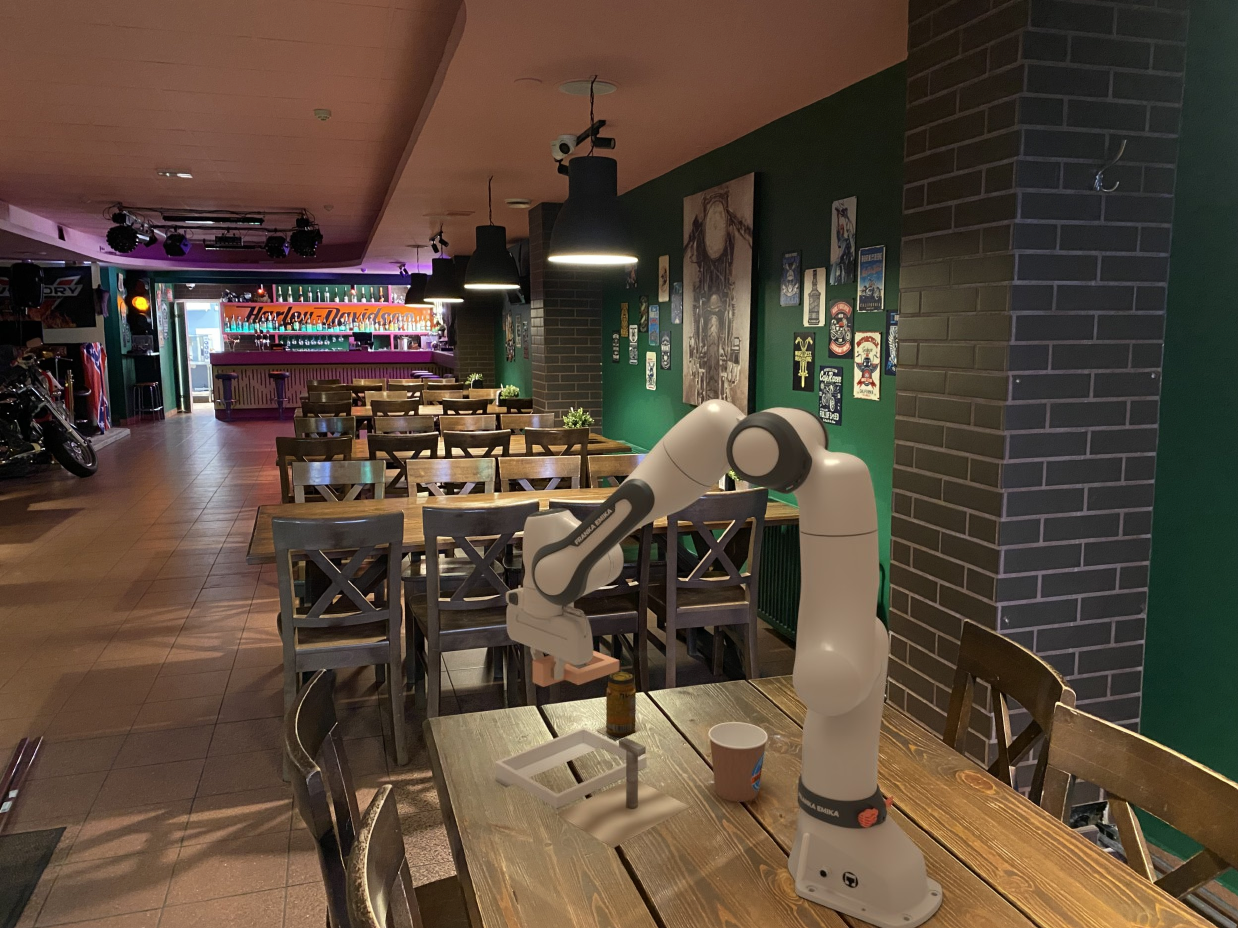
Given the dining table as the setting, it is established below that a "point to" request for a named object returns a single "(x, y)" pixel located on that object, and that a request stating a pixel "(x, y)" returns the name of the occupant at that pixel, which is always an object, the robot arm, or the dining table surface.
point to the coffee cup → (737, 759)
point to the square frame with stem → (574, 670)
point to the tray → (555, 754)
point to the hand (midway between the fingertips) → (549, 674)
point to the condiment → (620, 706)
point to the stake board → (623, 805)
